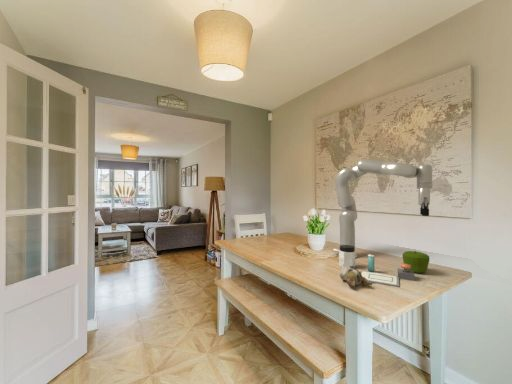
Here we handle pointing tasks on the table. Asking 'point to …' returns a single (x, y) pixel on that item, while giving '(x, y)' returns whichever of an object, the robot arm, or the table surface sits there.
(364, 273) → the white flat board
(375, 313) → the table surface
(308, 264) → the table surface
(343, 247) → the jar
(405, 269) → the button
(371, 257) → the marker
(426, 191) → the robot arm
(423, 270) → the apple
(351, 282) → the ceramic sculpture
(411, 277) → the button housing
